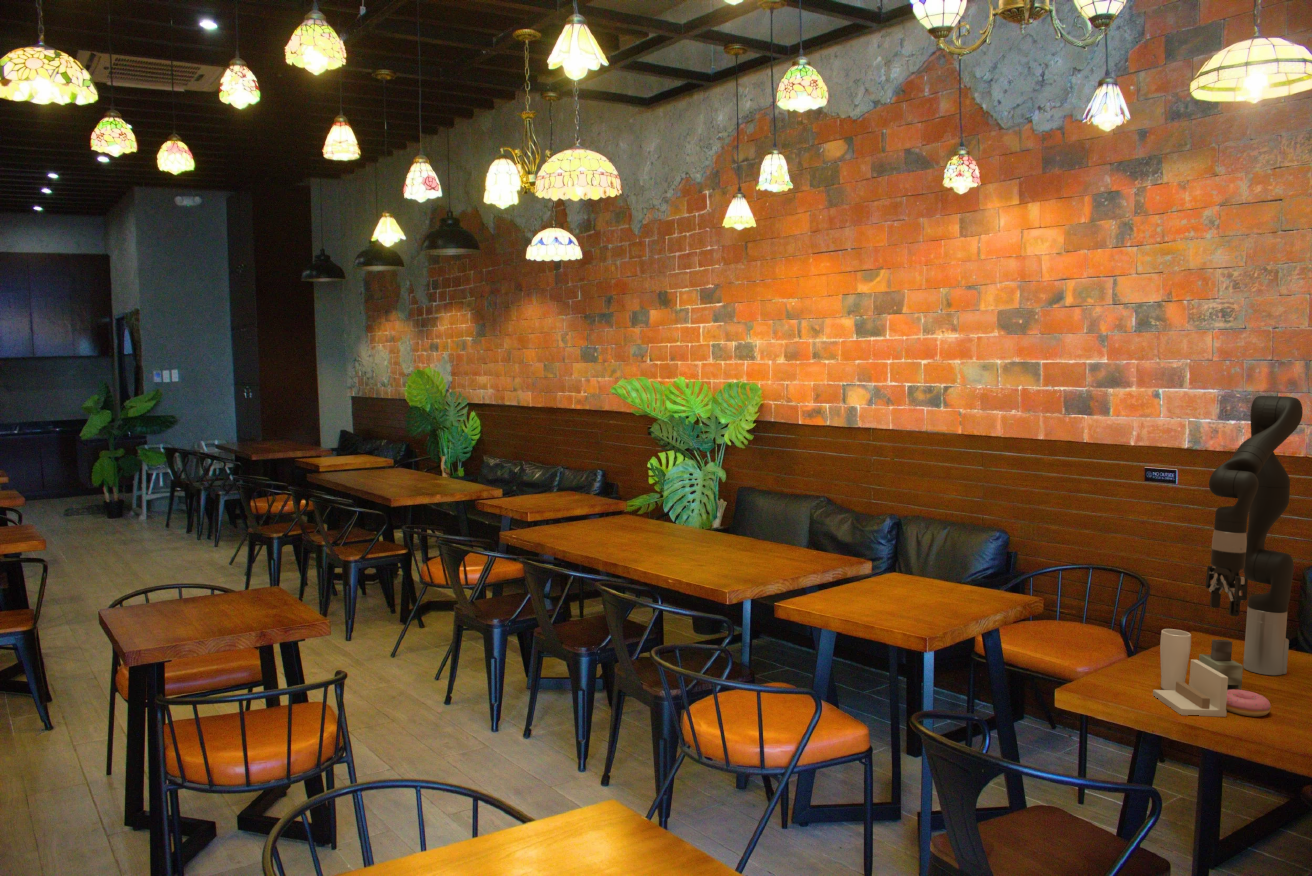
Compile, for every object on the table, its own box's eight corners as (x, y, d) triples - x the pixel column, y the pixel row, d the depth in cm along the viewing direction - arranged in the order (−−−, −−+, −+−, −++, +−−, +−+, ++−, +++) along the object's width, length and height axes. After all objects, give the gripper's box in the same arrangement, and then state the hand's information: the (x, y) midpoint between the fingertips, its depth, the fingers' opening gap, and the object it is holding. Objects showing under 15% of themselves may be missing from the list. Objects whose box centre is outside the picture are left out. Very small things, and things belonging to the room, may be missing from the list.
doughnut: (1221, 699, 239) (1222, 683, 239) (1273, 710, 232) (1274, 693, 232) (1213, 711, 231) (1214, 694, 230) (1267, 722, 224) (1268, 705, 223)
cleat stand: (1195, 696, 240) (1197, 659, 239) (1226, 716, 226) (1228, 677, 226) (1152, 695, 240) (1155, 658, 240) (1181, 715, 227) (1183, 676, 226)
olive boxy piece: (1220, 684, 250) (1224, 636, 249) (1240, 696, 241) (1244, 646, 240) (1197, 684, 250) (1200, 635, 249) (1216, 696, 241) (1220, 645, 240)
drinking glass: (1191, 695, 241) (1195, 637, 240) (1162, 693, 242) (1166, 634, 241) (1182, 686, 248) (1186, 629, 246) (1153, 684, 249) (1157, 627, 248)
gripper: (1260, 554, 236) (1255, 619, 237) (1227, 543, 250) (1223, 605, 251) (1230, 553, 236) (1225, 618, 237) (1198, 542, 250) (1194, 604, 251)
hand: (1224, 611), depth 244 cm, fingers open, 8 cm apart
